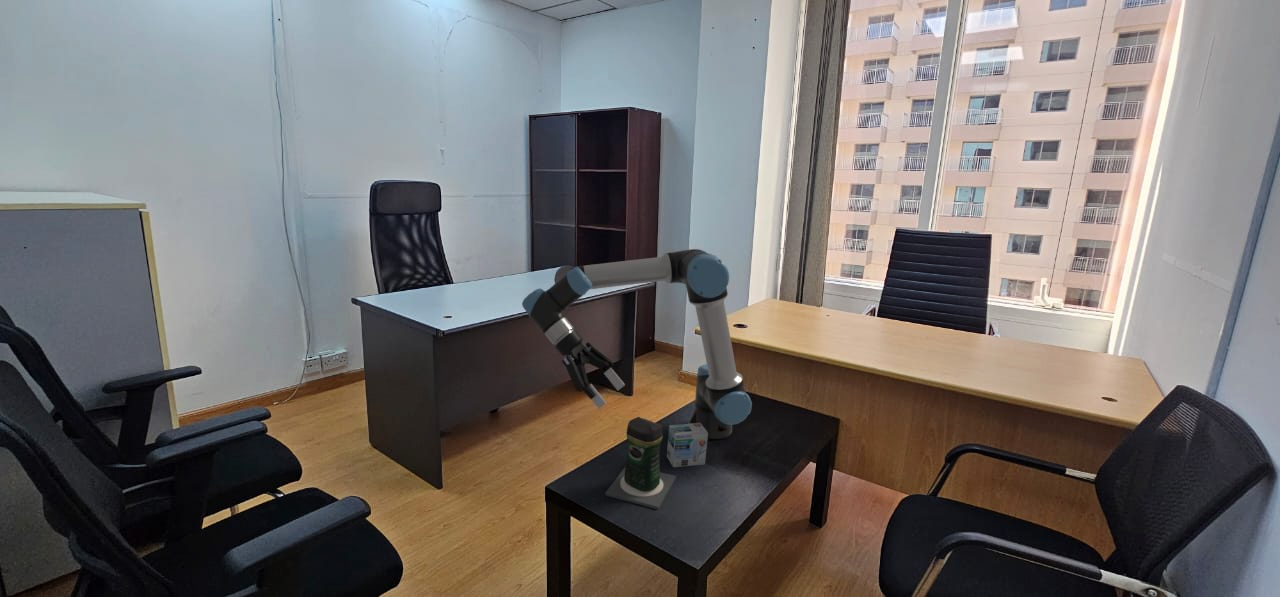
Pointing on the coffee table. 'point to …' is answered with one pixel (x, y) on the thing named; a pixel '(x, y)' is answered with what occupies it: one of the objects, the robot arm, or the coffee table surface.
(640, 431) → the coffee jar
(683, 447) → the light bulb box
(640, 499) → the marker mat
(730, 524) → the coffee table surface
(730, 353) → the robot arm
